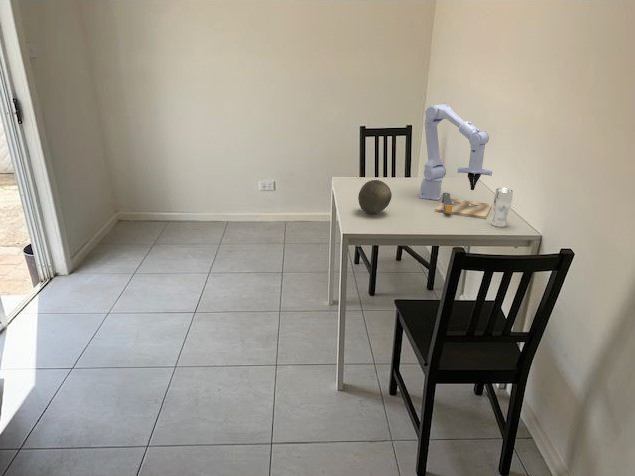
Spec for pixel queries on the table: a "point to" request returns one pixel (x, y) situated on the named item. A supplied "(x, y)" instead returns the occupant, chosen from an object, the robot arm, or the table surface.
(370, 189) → the grey ball
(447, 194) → the swing bar
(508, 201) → the beer glass
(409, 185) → the table surface
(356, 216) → the table surface
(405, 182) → the table surface
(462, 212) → the label board
